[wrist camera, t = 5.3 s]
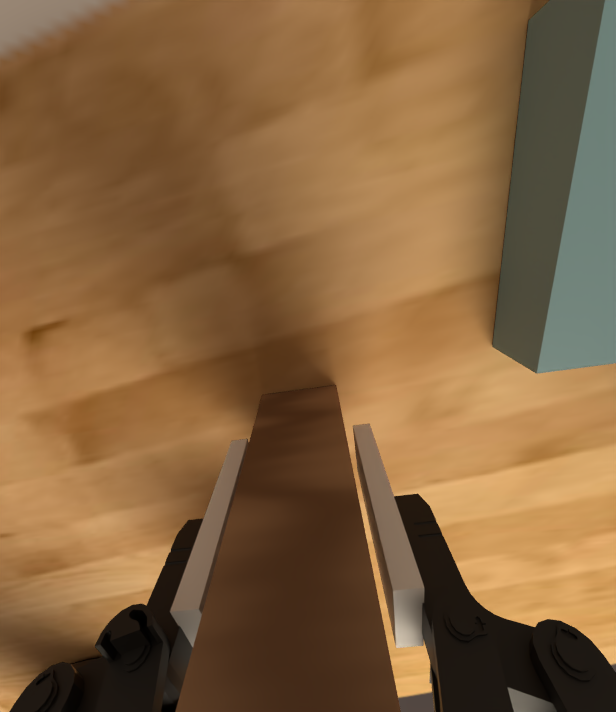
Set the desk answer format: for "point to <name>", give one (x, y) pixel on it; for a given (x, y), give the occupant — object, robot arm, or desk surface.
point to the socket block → (563, 195)
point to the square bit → (293, 578)
